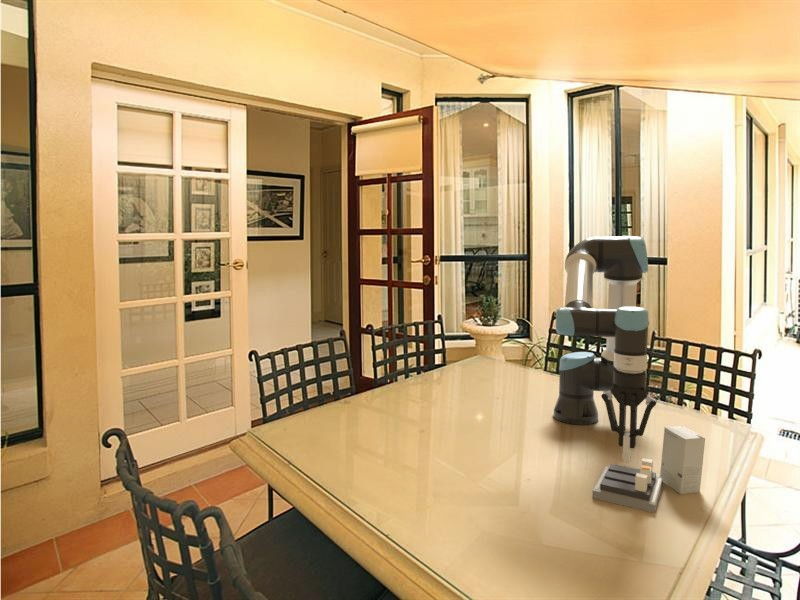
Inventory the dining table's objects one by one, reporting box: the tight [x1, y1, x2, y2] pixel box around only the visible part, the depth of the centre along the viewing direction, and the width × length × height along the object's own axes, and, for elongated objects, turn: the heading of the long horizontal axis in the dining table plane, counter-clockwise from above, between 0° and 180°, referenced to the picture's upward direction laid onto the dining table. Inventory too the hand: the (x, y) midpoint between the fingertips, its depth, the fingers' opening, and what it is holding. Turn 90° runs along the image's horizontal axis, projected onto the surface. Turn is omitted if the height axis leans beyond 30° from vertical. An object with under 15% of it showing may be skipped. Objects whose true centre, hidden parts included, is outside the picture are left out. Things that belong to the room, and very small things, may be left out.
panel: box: [592, 463, 664, 514], centre depth 131 cm, size 14×16×4 cm
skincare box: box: [659, 425, 706, 495], centre depth 133 cm, size 8×6×15 cm
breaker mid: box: [640, 465, 653, 484], centre depth 129 cm, size 2×2×4 cm
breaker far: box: [640, 457, 654, 470], centre depth 133 cm, size 2×2×4 cm
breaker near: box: [635, 473, 648, 492], centre depth 125 cm, size 2×2×4 cm
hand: (626, 458), depth 132 cm, fingers closed
